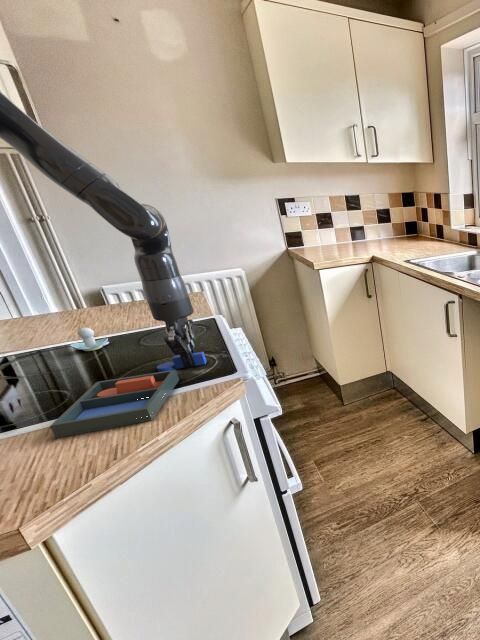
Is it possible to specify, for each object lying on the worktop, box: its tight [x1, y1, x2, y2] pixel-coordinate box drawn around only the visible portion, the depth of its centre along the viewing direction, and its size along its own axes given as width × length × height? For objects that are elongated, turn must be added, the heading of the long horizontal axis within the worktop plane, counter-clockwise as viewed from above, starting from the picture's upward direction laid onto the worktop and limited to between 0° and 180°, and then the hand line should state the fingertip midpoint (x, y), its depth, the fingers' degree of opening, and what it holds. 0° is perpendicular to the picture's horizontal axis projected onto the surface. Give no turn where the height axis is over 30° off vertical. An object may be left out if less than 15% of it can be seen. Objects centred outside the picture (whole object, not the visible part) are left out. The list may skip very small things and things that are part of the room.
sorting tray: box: [49, 369, 180, 439], centre depth 84 cm, size 14×18×3 cm
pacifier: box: [70, 327, 110, 352], centre depth 112 cm, size 7×6×6 cm
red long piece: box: [97, 376, 157, 398], centre depth 88 cm, size 10×4×3 cm, turn 113°
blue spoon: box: [156, 351, 208, 372], centre depth 101 cm, size 10×4×3 cm, turn 113°
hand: (191, 365), depth 102 cm, fingers closed on blue spoon, 1 cm apart
